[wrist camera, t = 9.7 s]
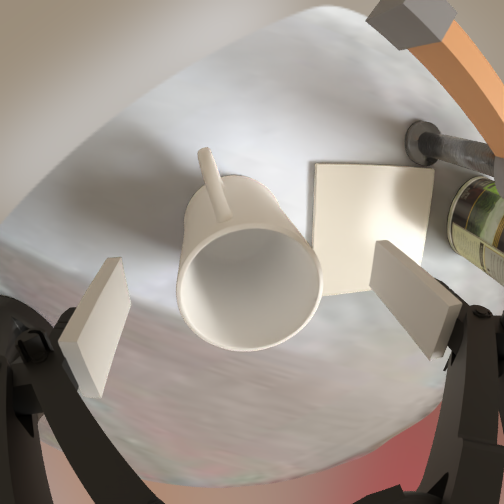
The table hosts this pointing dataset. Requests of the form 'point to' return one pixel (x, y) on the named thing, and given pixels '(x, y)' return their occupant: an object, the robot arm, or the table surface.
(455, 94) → the swing arm
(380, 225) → the coaster
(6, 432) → the robot arm
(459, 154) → the post
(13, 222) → the table surface
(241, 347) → the mug
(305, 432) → the table surface
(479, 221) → the coffee can
